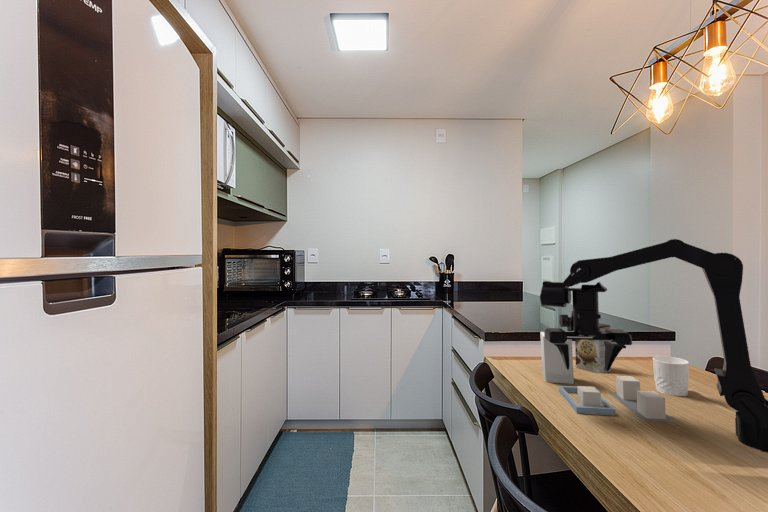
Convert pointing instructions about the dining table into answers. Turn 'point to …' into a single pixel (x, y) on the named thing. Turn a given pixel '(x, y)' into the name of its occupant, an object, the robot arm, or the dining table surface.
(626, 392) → the stone
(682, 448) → the dining table surface
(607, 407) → the blue bin
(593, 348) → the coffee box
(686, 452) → the dining table surface
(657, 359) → the white cup
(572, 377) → the skincare box
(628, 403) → the slate board
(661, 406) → the stone
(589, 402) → the stone
